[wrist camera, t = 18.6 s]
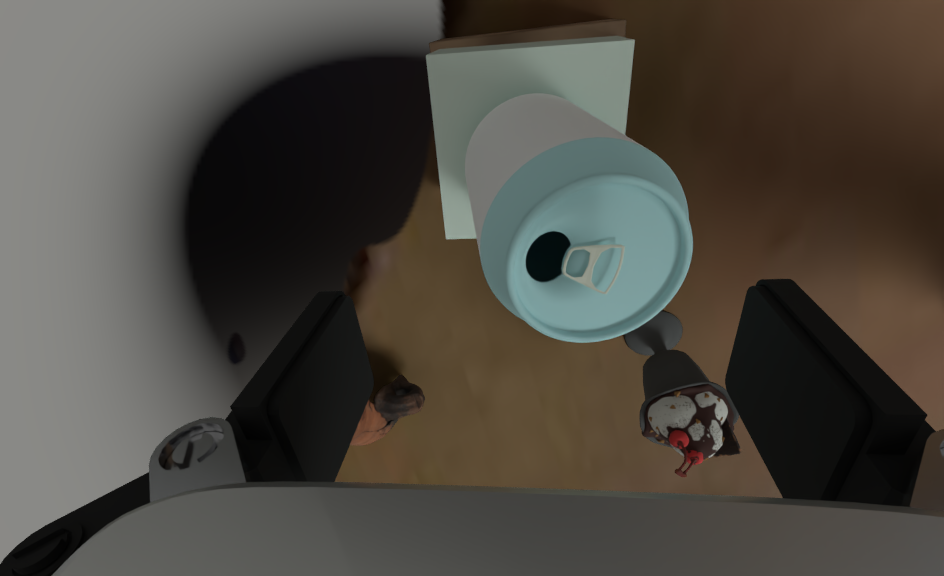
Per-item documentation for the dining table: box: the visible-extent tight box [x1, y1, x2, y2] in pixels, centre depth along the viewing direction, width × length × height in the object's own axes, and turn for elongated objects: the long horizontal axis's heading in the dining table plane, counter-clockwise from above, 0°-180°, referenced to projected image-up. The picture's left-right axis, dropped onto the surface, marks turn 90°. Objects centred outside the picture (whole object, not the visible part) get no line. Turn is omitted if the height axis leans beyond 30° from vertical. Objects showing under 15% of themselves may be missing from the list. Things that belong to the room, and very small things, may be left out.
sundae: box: [625, 311, 741, 477], centre depth 34 cm, size 7×7×15 cm
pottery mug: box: [350, 375, 425, 445], centre depth 44 cm, size 12×9×8 cm
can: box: [465, 93, 693, 343], centre depth 19 cm, size 7×7×12 cm
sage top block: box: [426, 36, 635, 239], centre depth 26 cm, size 10×10×4 cm
